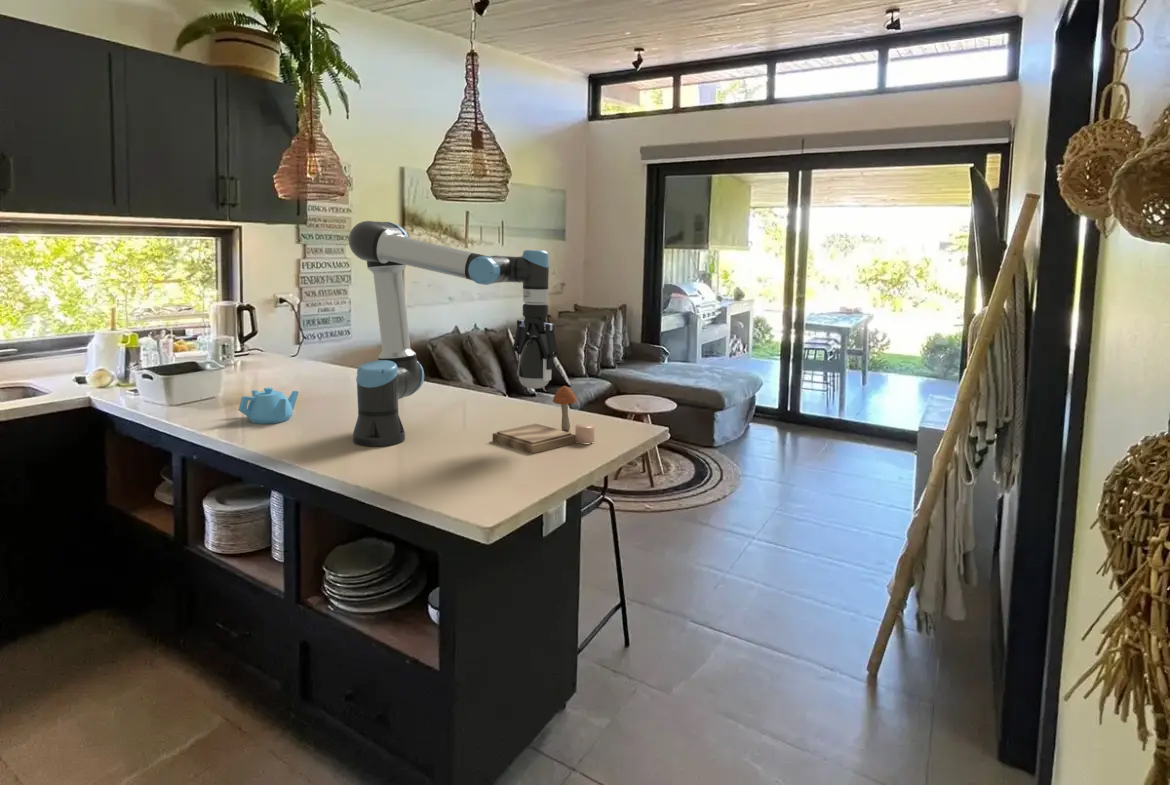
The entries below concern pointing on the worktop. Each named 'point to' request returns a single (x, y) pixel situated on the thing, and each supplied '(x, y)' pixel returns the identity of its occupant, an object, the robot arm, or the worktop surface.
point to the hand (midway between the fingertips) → (534, 377)
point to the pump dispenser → (531, 364)
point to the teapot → (268, 406)
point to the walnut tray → (534, 438)
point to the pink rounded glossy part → (585, 433)
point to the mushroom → (564, 404)
